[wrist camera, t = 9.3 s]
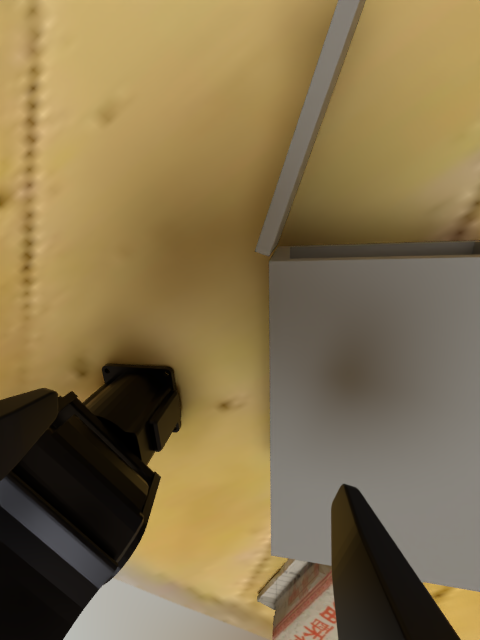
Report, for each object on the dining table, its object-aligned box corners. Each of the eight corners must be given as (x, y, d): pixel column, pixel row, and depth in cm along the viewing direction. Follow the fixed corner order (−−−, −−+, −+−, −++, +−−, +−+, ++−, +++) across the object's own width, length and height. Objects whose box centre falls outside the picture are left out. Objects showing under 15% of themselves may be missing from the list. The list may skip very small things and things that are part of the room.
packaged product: (341, 693, 27) (251, 647, 27) (334, 627, 32) (257, 587, 32) (470, 615, 20) (350, 555, 21) (438, 545, 25) (340, 496, 25)
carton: (277, 453, 24) (271, 555, 17) (278, 246, 18) (269, 261, 11) (427, 469, 22) (496, 594, 14) (481, 240, 16) (643, 253, 9)
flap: (277, 243, 18) (256, 273, 7) (263, 238, 18) (221, 260, 7) (363, 6, 13) (652, -868, 3) (344, 0, 14) (550, -876, 3)
